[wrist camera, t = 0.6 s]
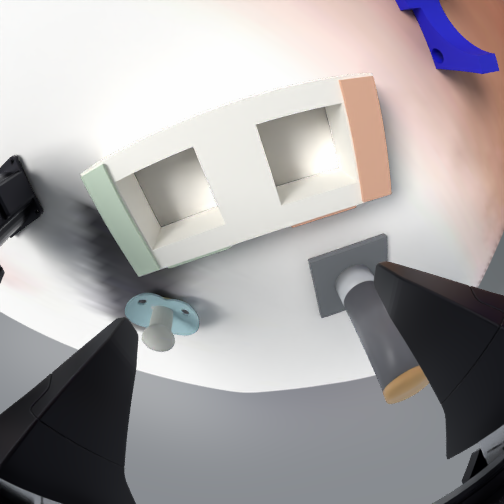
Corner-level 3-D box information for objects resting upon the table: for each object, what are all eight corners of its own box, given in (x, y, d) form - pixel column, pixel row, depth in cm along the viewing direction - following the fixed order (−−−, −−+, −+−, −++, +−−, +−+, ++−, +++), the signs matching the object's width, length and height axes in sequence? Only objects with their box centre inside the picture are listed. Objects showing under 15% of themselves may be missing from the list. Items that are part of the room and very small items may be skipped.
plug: (336, 300, 27) (383, 409, 16) (332, 272, 25) (389, 389, 14) (371, 288, 27) (427, 388, 16) (370, 258, 25) (440, 364, 14)
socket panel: (150, 254, 23) (140, 282, 20) (99, 160, 18) (77, 175, 14) (370, 181, 21) (393, 199, 18) (349, 74, 16) (374, 72, 13)
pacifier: (191, 333, 29) (204, 297, 26) (188, 381, 24) (201, 349, 21) (128, 318, 27) (131, 279, 24) (116, 365, 22) (114, 330, 19)
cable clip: (367, -43, 9) (403, -65, 4) (402, -42, 8) (441, -57, 3) (424, 71, 16) (472, 76, 11) (453, 64, 15) (499, 70, 10)
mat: (320, 314, 29) (321, 318, 29) (308, 259, 25) (309, 263, 24) (384, 290, 28) (386, 294, 28) (383, 233, 24) (386, 236, 23)
